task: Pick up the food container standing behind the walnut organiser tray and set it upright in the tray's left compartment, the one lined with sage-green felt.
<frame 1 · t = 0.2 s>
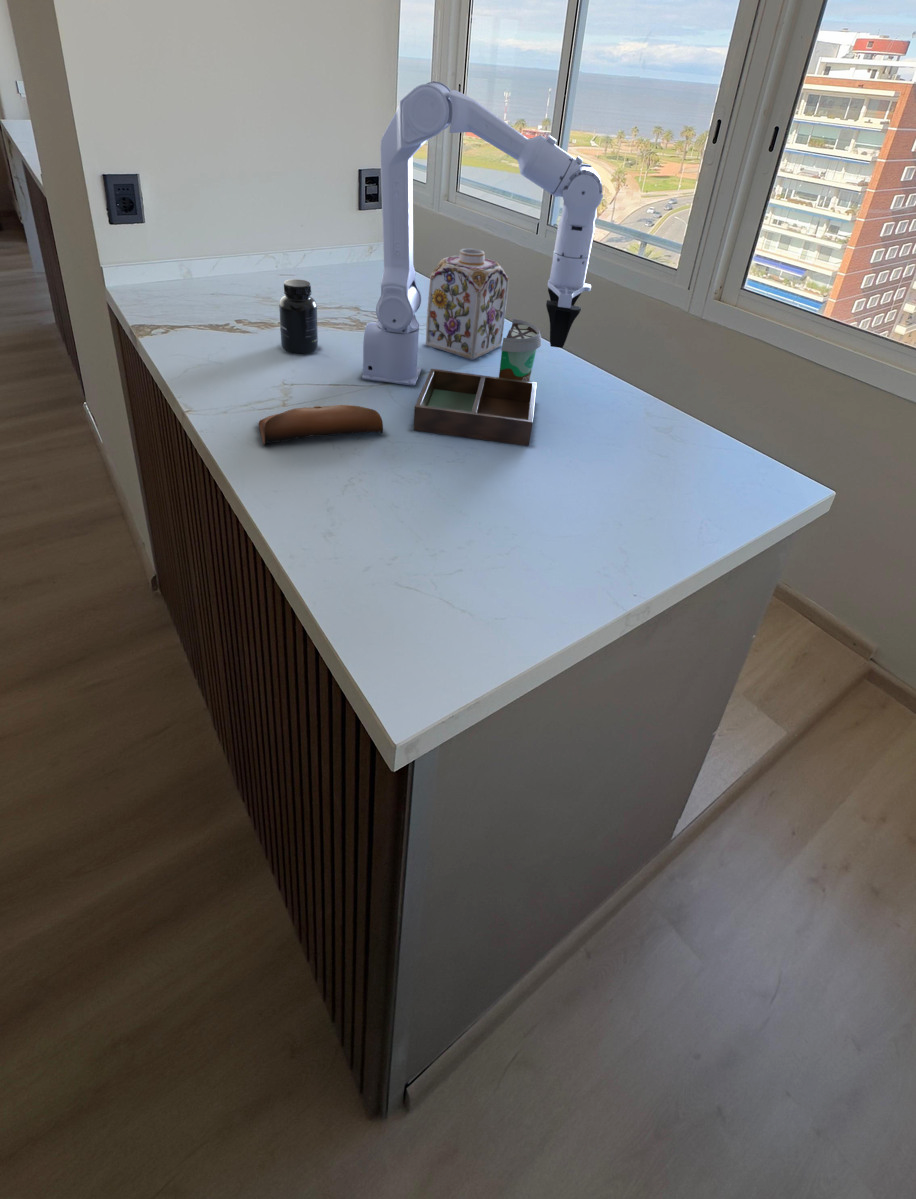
hand: (557, 339, 124), 10 cm above the counter, tool pointing down, fingers open, 7 cm apart
food container: (517, 386, 133), on the counter
organiser tray: (476, 416, 121), on the counter
supplement bottle: (300, 349, 138), on the counter
decorative jar: (463, 347, 147), on the counter
sunglasses case: (319, 432, 112), on the counter
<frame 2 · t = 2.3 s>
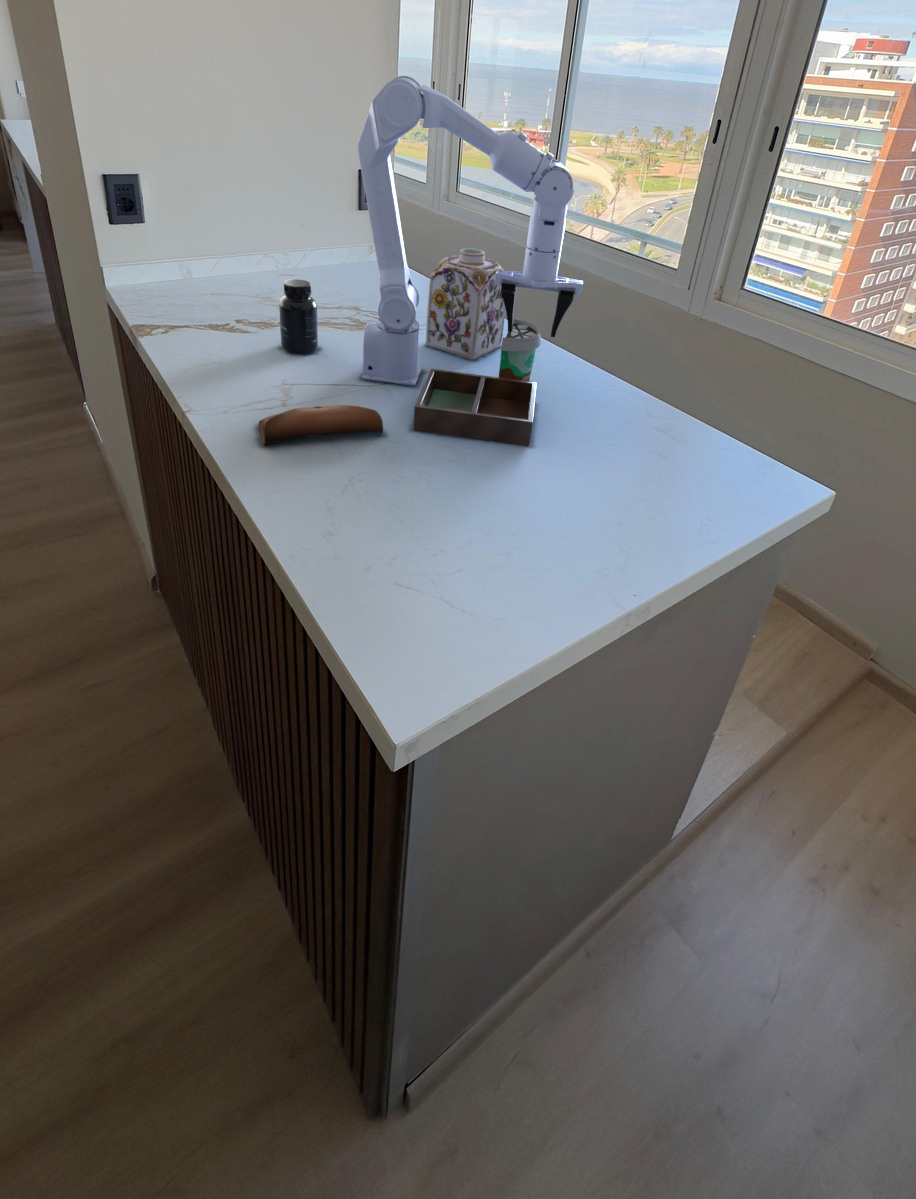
hand: (531, 332, 126), 10 cm above the counter, tool pointing down, fingers open, 7 cm apart
food container: (517, 386, 133), on the counter, touching gripper
everything else where it was.
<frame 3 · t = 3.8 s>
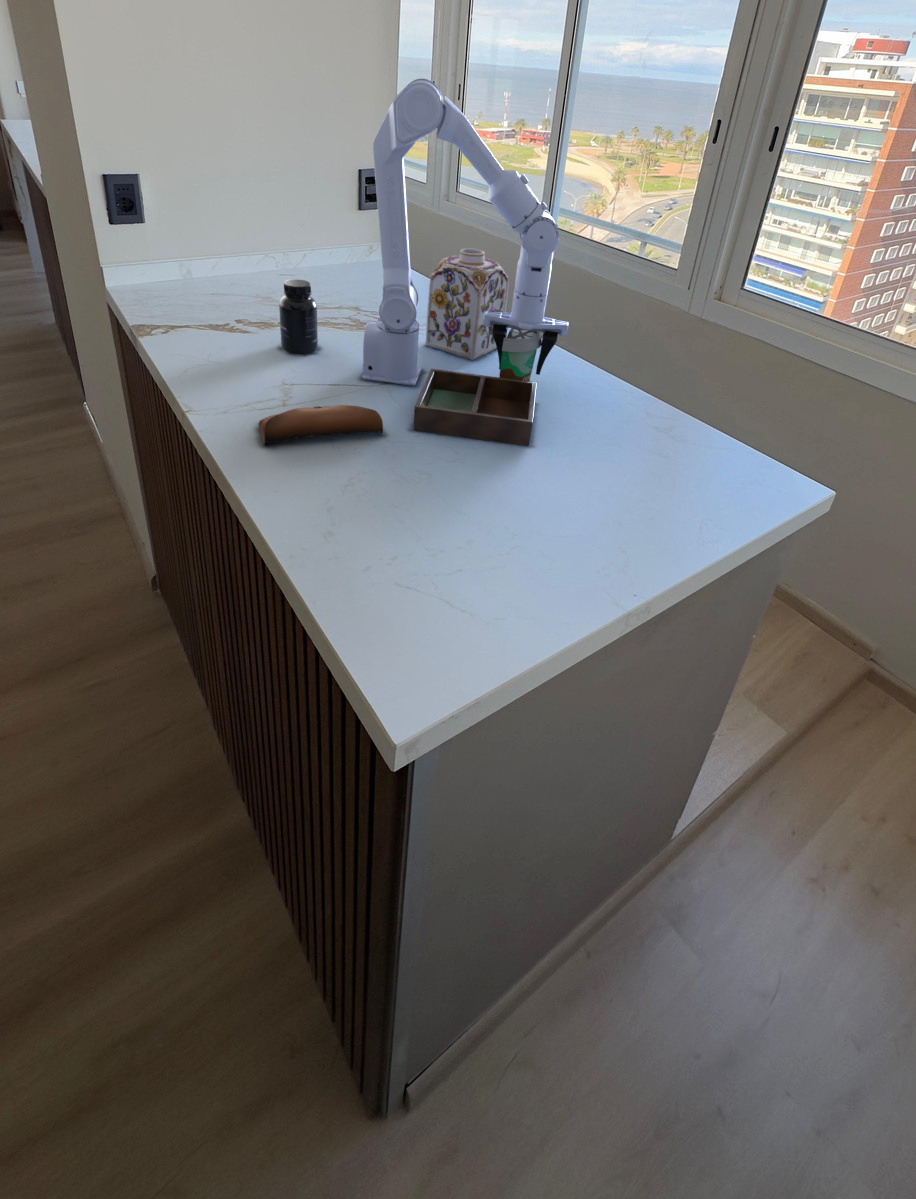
hand: (519, 370, 131), 3 cm above the counter, tool pointing down, fingers closed on food container, 6 cm apart
food container: (517, 386, 133), on the counter, touching gripper
everything else where it was.
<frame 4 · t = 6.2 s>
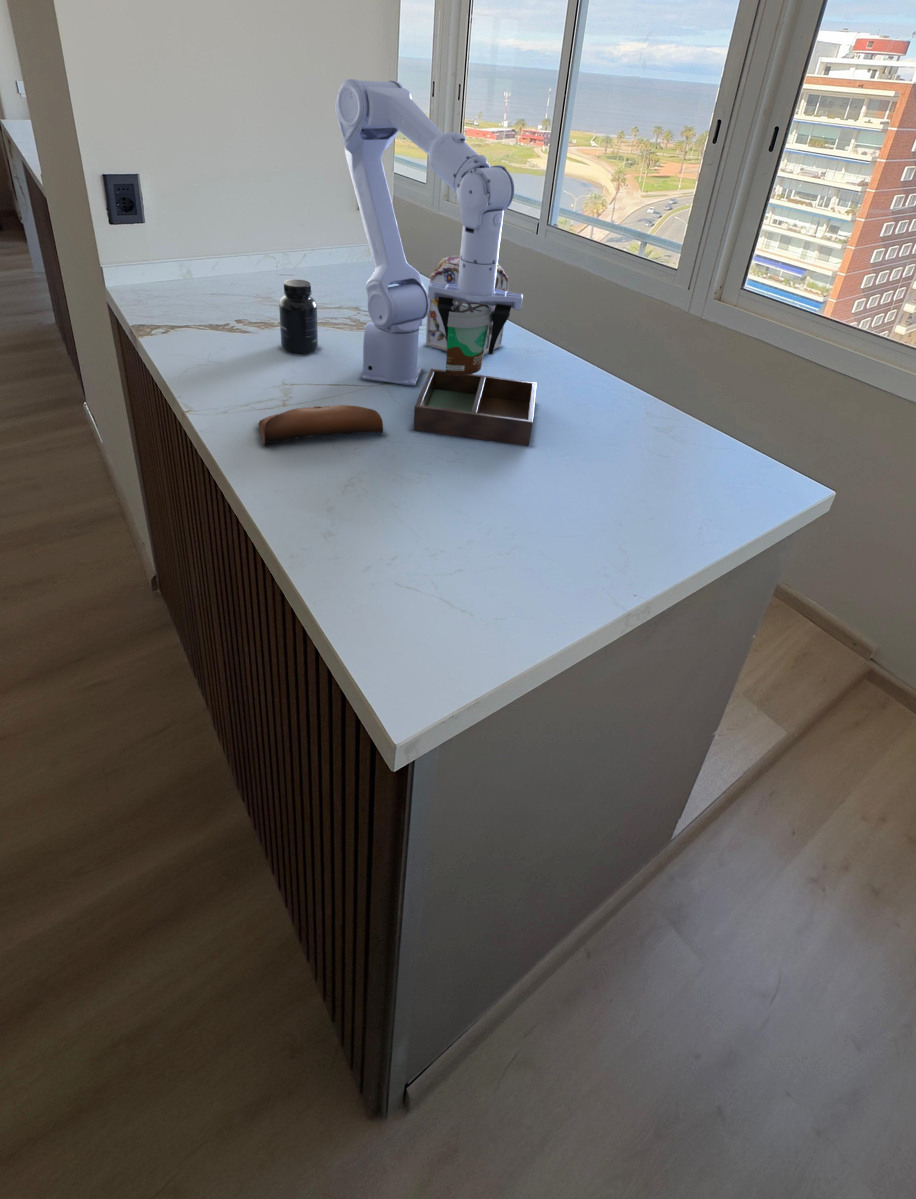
hand: (470, 349, 117), 10 cm above the counter, tool pointing down, fingers closed on food container, 6 cm apart
food container: (469, 368, 119), point 7 cm above the counter, touching gripper
everything else where it was.
when the fingers open (4 cm above the counter, at t = 8.8 s): food container stays where it is, resting on organiser tray.
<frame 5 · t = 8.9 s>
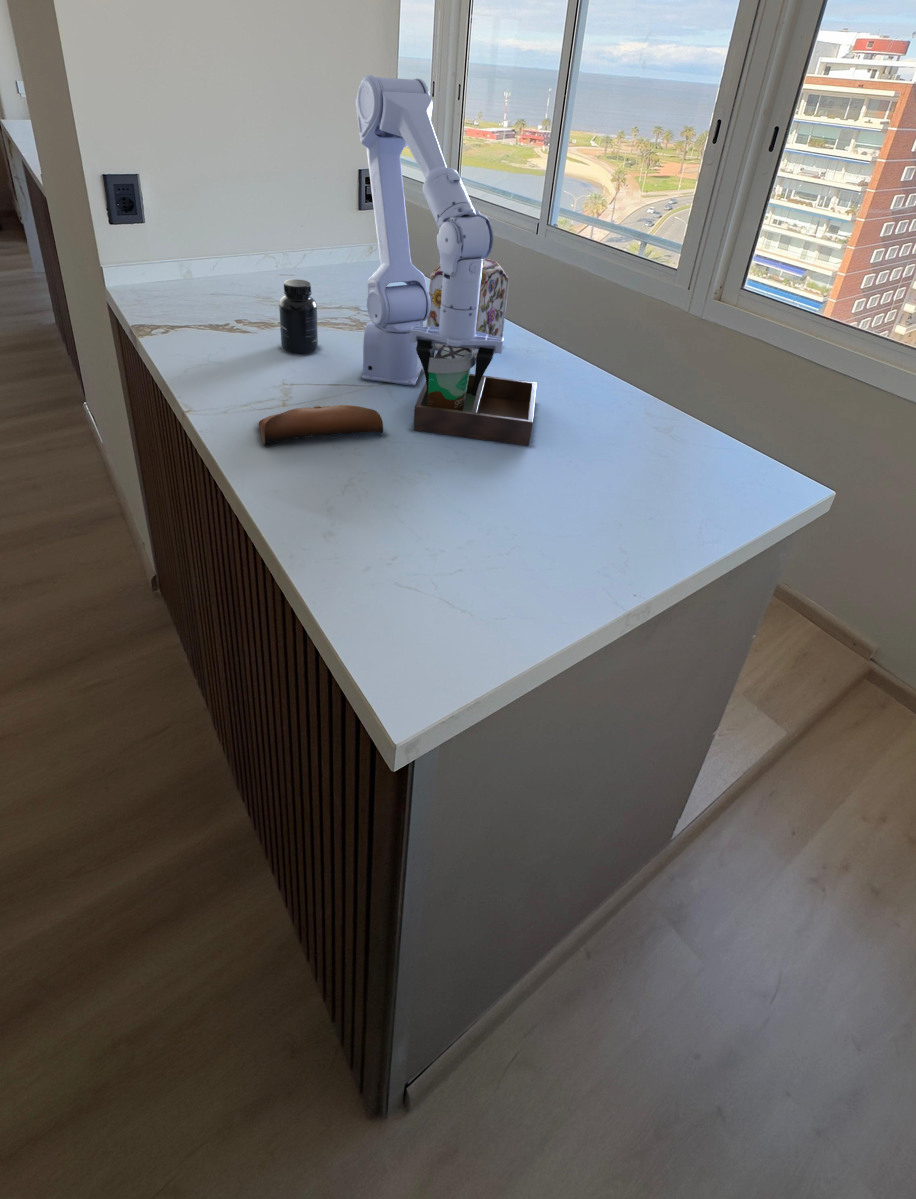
hand: (452, 390, 119), 4 cm above the counter, tool pointing down, fingers open, 7 cm apart
food container: (451, 410, 121), point 1 cm above the counter, touching organiser tray
everything else where it was.
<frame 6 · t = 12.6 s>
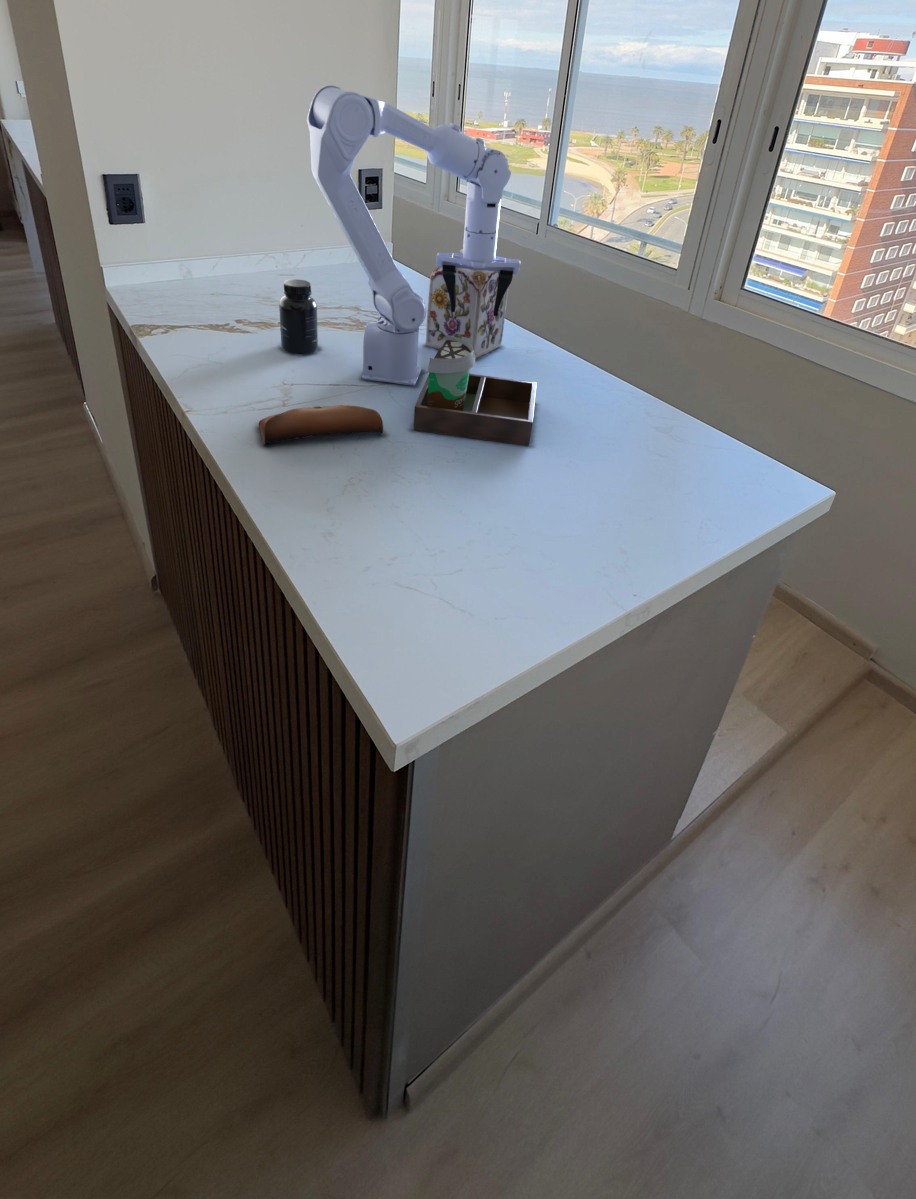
hand: (474, 312, 131), 10 cm above the counter, tool pointing down, fingers open, 7 cm apart
nothing on the counter moved.
at the end: food container inside the target area on the organiser tray (0.2 cm from its centre), point 0.6 cm above the organiser tray's base; food container tilted 0°; the gripper is holding nothing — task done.
